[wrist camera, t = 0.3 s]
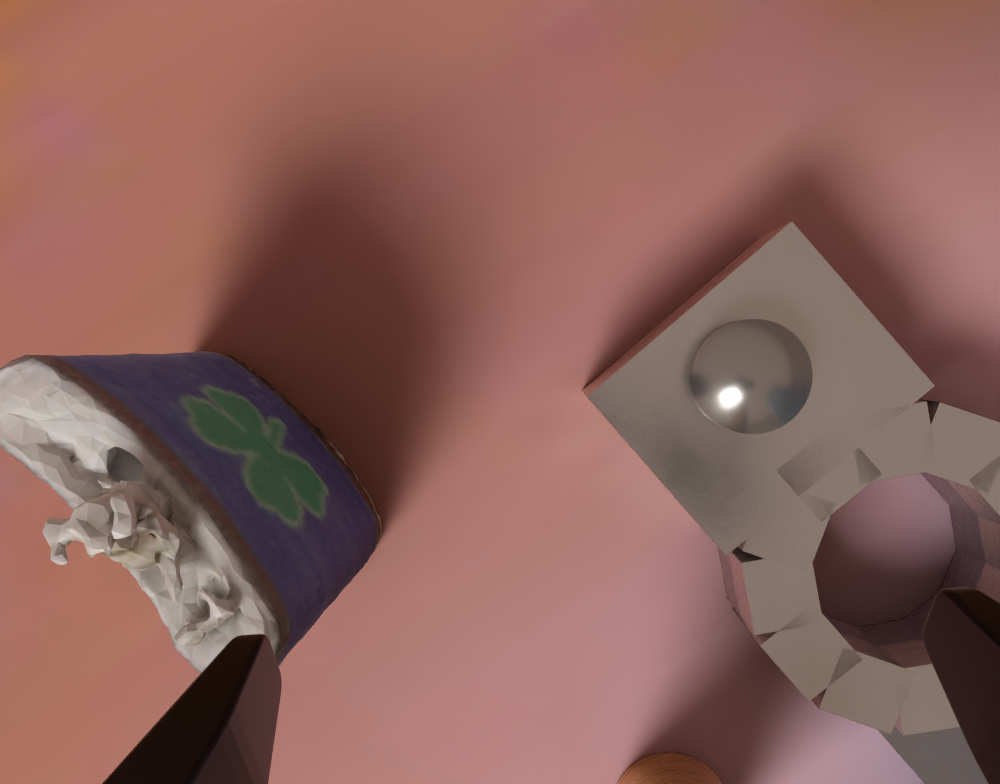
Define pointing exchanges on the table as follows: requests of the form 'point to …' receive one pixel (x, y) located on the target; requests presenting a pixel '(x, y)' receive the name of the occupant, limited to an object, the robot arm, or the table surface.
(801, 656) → the flanged post bracket
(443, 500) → the table surface
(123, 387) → the flask
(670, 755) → the brass pin
